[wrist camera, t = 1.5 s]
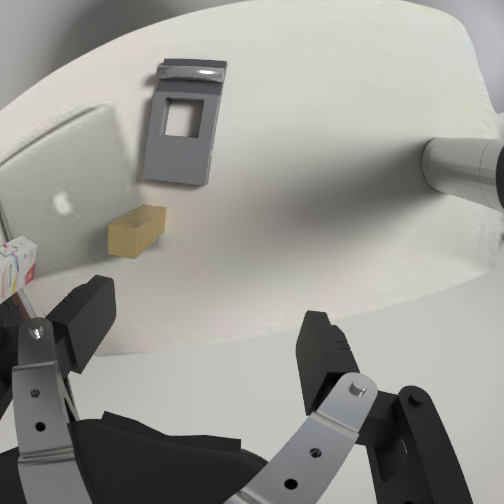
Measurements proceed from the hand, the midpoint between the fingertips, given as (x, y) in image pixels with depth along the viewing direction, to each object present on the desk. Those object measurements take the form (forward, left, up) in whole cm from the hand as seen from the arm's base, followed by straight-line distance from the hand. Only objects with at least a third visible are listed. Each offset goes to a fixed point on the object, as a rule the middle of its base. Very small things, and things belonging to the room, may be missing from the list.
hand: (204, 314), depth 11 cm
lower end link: (+9, -13, -31) cm, 35 cm away
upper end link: (+9, -8, -31) cm, 33 cm away
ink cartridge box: (+40, +16, -31) cm, 53 cm away
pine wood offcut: (+12, +5, -31) cm, 33 cm away
